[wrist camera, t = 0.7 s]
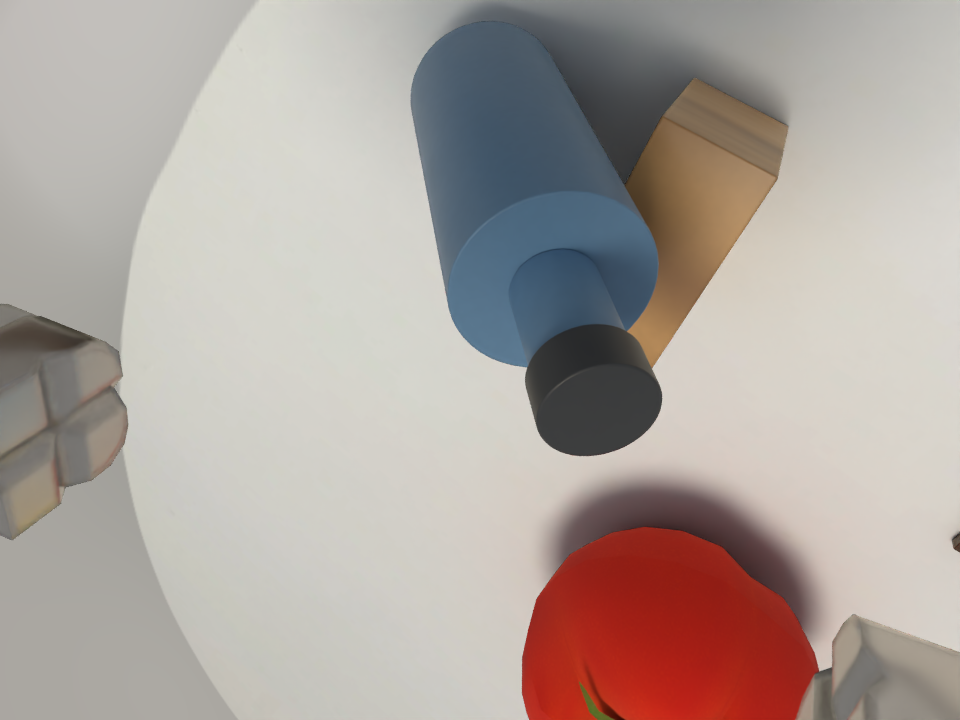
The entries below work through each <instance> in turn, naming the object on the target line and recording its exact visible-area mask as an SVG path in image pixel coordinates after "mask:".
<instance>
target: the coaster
mask: <svg viewBox="0 0 960 720" xmlns="http://www.w3.org/2000/svg"><path fill="white" fill-rule="evenodd" d="M952 543H953V548H954V549H955V550H957V551H958V552H960V534H959V535H958V536H957V537H956V538H955V539H953V541H952Z"/></svg>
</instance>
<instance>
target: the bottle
mask: <svg viewBox="0 0 960 720" xmlns="http://www.w3.org/2000/svg"><path fill="white" fill-rule="evenodd" d="M411 110H412V116H413V121H414V126H415V132H416V137H417V142H418V148H419V153H420V158H421V164H422V169H423V174H424V180H425V185H426V190H427V195H428V201H429V206H430V211H431V217H432V222H433V227H434V233H435V238H436V243H437V249H438V254H439V259H440V264H441V270H442V275H443V280H444V286H445V291H446V296H447V302H448V307H449V311H450V314H451V317H452V320H453V322H454V324H455V326H456V328H457V329H458V331H459V332H460V333H461V335H462V336H463V337H464V338H465V339H466V340H467V341H468V342H469V343H470V344H471V345H472V346H473V347H474V348H475V349H477V350H478V351H480V352H481V353H483V354H484V355H486V356H488V357H490V358H492V359H495V360H497V361H500V362H502V363H506V364H510V365H514V366H521V367H527V371H526V376H525V385H526V389H527V393H528V397H529V400H530V404H531V408H532V411H533V415H534V419H535V422H536V426H537V430H538V432H539V434H540V436H541V437H542V439H543V440H544V441H545V442H546V443H547V444H548V445H549V446H551V447H552V448H554V449H556V450H558V451H560V452H563V453H565V454H570V455H576V456H594V455H601V454H605V453H609V452H612V451H615V450H618V449H620V448H623V447H625V446H627V445H629V444H630V443H632V442H634V441H635V440H637V439H638V438H639V437H641V436H642V435H643V434H644V433H645V432H646V431H647V430H648V429H649V428H650V427H651V426H652V424H653V423H654V422H655V420H656V418H657V417H658V414H659V412H660V409H661V405H662V392H661V388H660V385H659V383H658V381H657V379H656V377H655V374H654V372H653V370H652V368H651V366H650V364H649V361H648V359H647V357H646V355H645V353H644V351H643V348H642V346H641V345H640V343H639V342H638V340H637V339H636V338H635V337H634V336H633V335H632V334H630V333H628V332H627V331H628V330H629V329H630V328H631V327H632V326H633V325H634V323H635V322H636V321H637V320H638V319H639V317H640V316H641V315H642V313H643V312H644V310H645V309H646V307H647V305H648V303H649V301H650V299H651V297H652V294H653V292H654V289H655V286H656V281H657V277H658V266H659V262H658V252H657V248H656V244H655V241H654V238H653V236H652V234H651V232H650V230H649V228H648V226H647V225H646V223H645V221H644V219H643V218H642V216H641V214H640V212H639V210H638V209H637V207H636V205H635V203H634V202H633V200H632V198H631V196H630V195H629V193H628V191H627V189H626V188H625V186H624V184H623V182H622V181H621V179H620V177H619V175H618V174H617V172H616V170H615V168H614V166H613V165H612V163H611V161H610V159H609V158H608V156H607V154H606V152H605V151H604V149H603V147H602V145H601V144H600V142H599V140H598V138H597V137H596V135H595V133H594V131H593V130H592V128H591V126H590V124H589V123H588V121H587V119H586V117H585V115H584V114H583V112H582V110H581V108H580V107H579V105H578V103H577V101H576V100H575V98H574V96H573V94H572V93H571V91H570V89H569V87H568V86H567V84H566V82H565V80H564V79H563V77H562V75H561V73H560V71H559V70H558V68H557V66H556V64H555V63H554V61H553V59H552V57H551V56H550V54H549V53H548V51H547V50H546V48H545V47H544V46H543V45H542V43H541V42H540V41H539V40H538V39H536V38H535V37H534V36H533V35H532V34H530V33H528V32H527V31H525V30H524V29H521V28H519V27H517V26H515V25H511V24H508V23H504V22H496V21H483V22H476V23H471V24H468V25H464V26H462V27H459V28H457V29H455V30H453V31H451V32H449V33H448V34H446V35H445V36H443V37H442V38H441V39H439V40H438V41H437V42H436V43H435V44H434V45H433V46H432V47H431V48H430V49H429V50H428V52H427V53H426V54H425V56H424V57H423V59H422V60H421V62H420V64H419V66H418V68H417V70H416V73H415V75H414V79H413V83H412V88H411Z"/></svg>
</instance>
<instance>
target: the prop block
mask: <svg viewBox="0 0 960 720" xmlns="http://www.w3.org/2000/svg"><path fill="white" fill-rule="evenodd" d="M787 132H788V126H786V125H785V124H783V123H781V122H779V121H777V120H775V119H773V118H771V117H769V116H767V115H765V114H764V113H762V112H760V111H758V110H756V109H754V108H752V107H750V106H748V105H746V104H744V103H742V102H741V101H739V100H737V99H735V98H733V97H731V96H729V95H727V94H725V93H723V92H721V91H719V90H718V89H716V88H714V87H712V86H710V85H708V84H706V83H704V82H702V81H700V80H698V79H697V78H694V79H693V80H692V81H691V82H690V83H689V84H688V86H687V87H686V88H685V89H684V90H683V92H682V93H681V94H680V95H679V96H678V98H677V99H676V100H675V101H674V102H673V104H672V105H671V106H670V107H669V108H668V110H667V111H666V112H665V113H664V114H663V116H662V117H661V118H660V120H659V122H658V124H657V126H656V128H655V130H654V131H653V133H652V135H651V137H650V139H649V141H648V143H647V144H646V146H645V148H644V150H643V152H642V154H641V156H640V157H639V159H638V161H637V163H636V165H635V167H634V169H633V170H632V172H631V174H630V176H629V178H628V180H627V182H626V183H625V185H624V186H625V188H626V189H627V191H628V193H629V195H630V196H631V198H632V200H633V202H634V203H635V205H636V207H637V209H638V210H639V212H640V214H641V216H642V218H643V219H644V221H645V223H646V225H647V226H648V228H649V230H650V232H651V234H652V236H653V238H654V241H655V244H656V248H657V252H658V262H659V266H658V277H657V281H656V286H655V289H654V292H653V294H652V297H651V299H650V301H649V303H648V305H647V307H646V309H645V310H644V312H643V313H642V315H641V316H640V317H639V319H638V320H637V321H636V322H635V323H634V325H633V326H632V327H631V328H630V329H629V330H628V331H627V332H628V333H630V334H632V335H633V336H634V337H635V338H636V339H637V340H638V342H639V343H640V345H641V346H642V348H643V351H644V353H645V355H646V357H647V359H648V361H649V364H650V366H651V368H653V366H654V365H655V363H656V362H657V360H658V359H659V357H660V356H661V354H662V352H663V351H664V349H665V348H666V346H667V345H668V343H669V342H670V340H671V339H672V337H673V336H674V334H675V333H676V331H677V330H678V328H679V327H680V325H681V324H682V322H683V321H684V319H685V318H686V316H687V315H688V313H689V312H690V310H691V309H692V307H693V306H694V304H695V303H696V301H697V300H698V298H699V297H700V295H701V294H702V292H703V291H704V289H705V288H706V286H707V285H708V283H709V282H710V280H711V279H712V277H713V276H714V274H715V273H716V271H717V270H718V268H719V267H720V265H721V263H722V262H723V260H724V259H725V257H726V256H727V254H728V253H729V251H730V250H731V248H732V247H733V245H734V244H735V242H736V241H737V239H738V238H739V236H740V235H741V233H742V232H743V230H744V229H745V227H746V226H747V224H748V223H749V221H750V220H751V218H752V217H753V215H754V214H755V212H756V211H757V209H758V208H759V206H760V205H761V203H762V202H763V200H764V199H765V197H766V196H767V194H768V193H769V191H770V190H771V188H772V187H773V185H774V184H775V182H776V181H777V179H778V175H779V170H780V165H781V161H782V156H783V151H784V146H785V142H786V137H787Z"/></svg>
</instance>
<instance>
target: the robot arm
mask: <svg viewBox="0 0 960 720" xmlns="http://www.w3.org/2000/svg"><path fill="white" fill-rule="evenodd" d="M122 377H123V373H122V367H121V361H120V355H119V351H118V350H116V349H115V348H114V347H112V346H111V345H109V344H108V343H107V342H105V341H102V340H99V339H97V338H94V337H92V336H90V335H87V334H85V333H82V332H79V331H77V330H74V329H72V328H69V327H66V326H64V325H61V324H59V323H57V322H54V321H51V320H49V319H47V318H44V317H41V316H36V315H34V314H32V313H29V312H27V311H24V310H22V309H19V308H17V307H14V306H12V305H9V304H0V535H1V536H3V537H5V538H8V539H10V540H13V539H15V538H16V537H17V536H19V535H20V534H21V533H23V532H24V531H25V530H27V529H28V528H29V527H30V526H32V525H33V524H35V523H36V522H37V521H39V520H40V519H41V518H43V517H44V516H45V515H47V514H48V513H49V512H51V511H52V510H53V509H55V508H56V507H57V506H59V505H60V504H61V501H62V498H63V495H64V491H65V488H66V487H69V486H73V485H76V484H81V483H84V482H87V481H91V480H93V479H94V478H95V477H97V476H98V475H99V474H100V473H102V472H103V471H104V470H105V469H107V468H108V467H109V466H111V464H112V462H113V461H114V459H115V458H116V456H117V455H118V453H119V452H120V450H121V448H122V447H123V445H124V443H125V438H126V434H127V429H128V417H127V408H126V406H125V404H124V403H123V401H122V400H121V398H120V396H119V395H118V393H117V392H116V390H115V388H114V387H115V385H117V383H118V382H119V381H120V379H121V378H122ZM795 720H960V652H957V651H954V650H952V649H949V648H946V647H943V646H940V645H938V644H935V643H932V642H929V641H926V640H924V639H921V638H918V637H915V636H912V635H910V634H907V633H904V632H901V631H898V630H896V629H893V628H890V627H887V626H884V625H882V624H879V623H876V622H873V621H870V620H868V619H865V618H862V617H859V616H856V615H854V614H853V615H852V616H851V617H850V618H848V619H847V620H846V621H845V622H844V623H843V625H842V626H841V628H840V630H839V632H838V633H837V635H836V637H835V638H834V640H833V642H832V667H831V668H828V669H826V670H823V671H820V672H817V673H815V674H814V676H813V678H812V680H811V682H810V684H809V686H808V687H807V689H806V691H805V693H804V695H803V697H802V700H801V704H800V707H799V710H798V713H797V716H796V719H795Z"/></svg>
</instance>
